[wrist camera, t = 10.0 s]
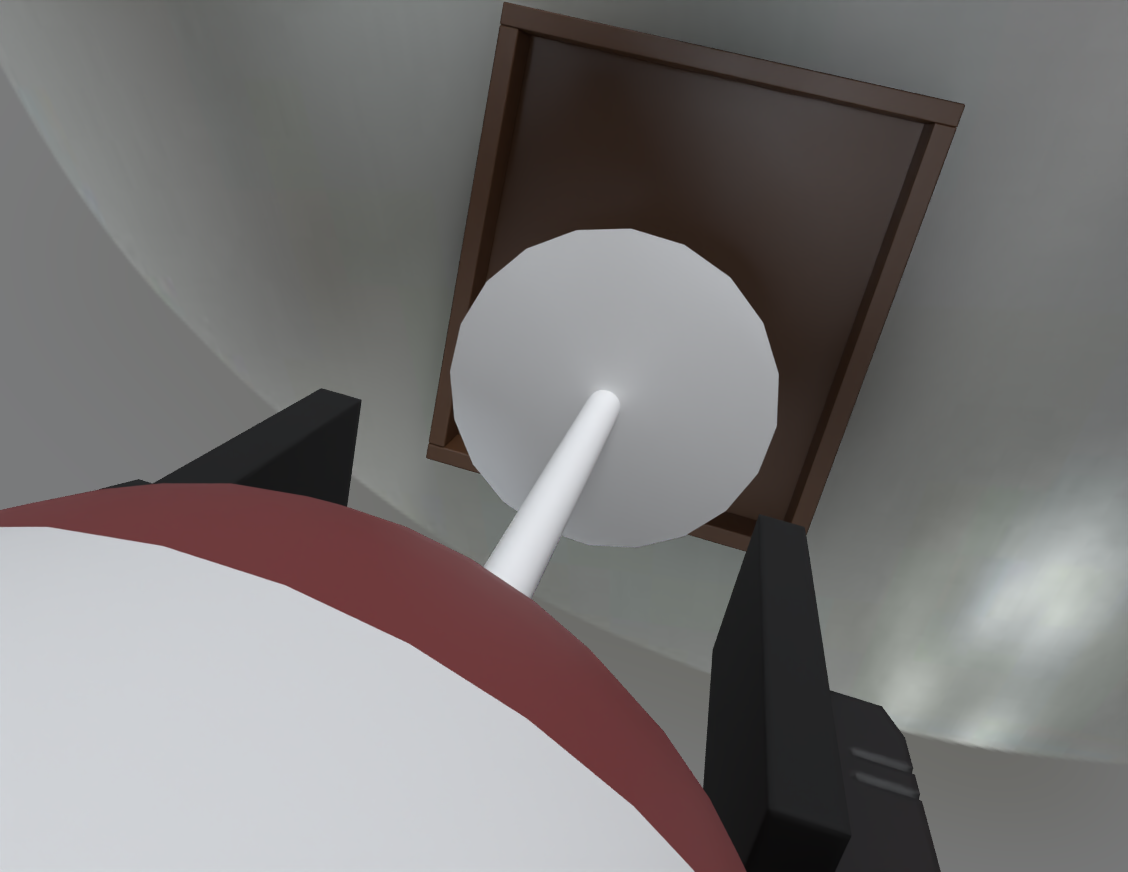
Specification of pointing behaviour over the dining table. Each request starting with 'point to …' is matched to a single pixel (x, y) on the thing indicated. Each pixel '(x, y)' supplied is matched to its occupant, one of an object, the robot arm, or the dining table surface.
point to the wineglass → (391, 618)
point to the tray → (711, 207)
